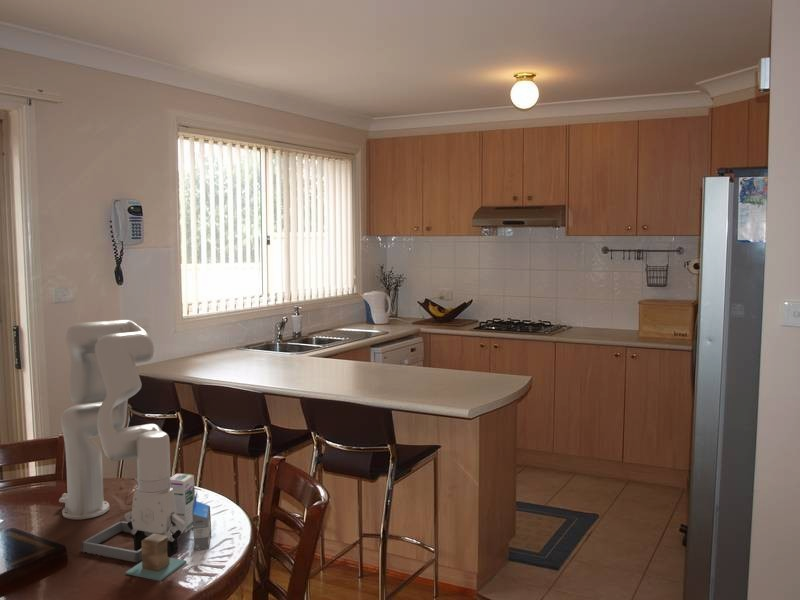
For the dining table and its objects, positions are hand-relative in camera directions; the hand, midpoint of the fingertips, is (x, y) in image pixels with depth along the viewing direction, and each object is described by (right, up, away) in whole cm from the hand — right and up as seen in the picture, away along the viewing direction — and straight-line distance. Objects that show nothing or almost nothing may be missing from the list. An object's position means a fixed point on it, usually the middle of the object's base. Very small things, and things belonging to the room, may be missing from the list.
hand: (156, 551), depth 175 cm
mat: (0, -4, 0) cm, 4 cm away
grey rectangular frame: (-11, -3, +13) cm, 17 cm away
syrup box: (-1, -2, +24) cm, 24 cm away
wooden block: (0, -4, 0) cm, 4 cm away
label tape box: (+7, -3, +15) cm, 17 cm away
